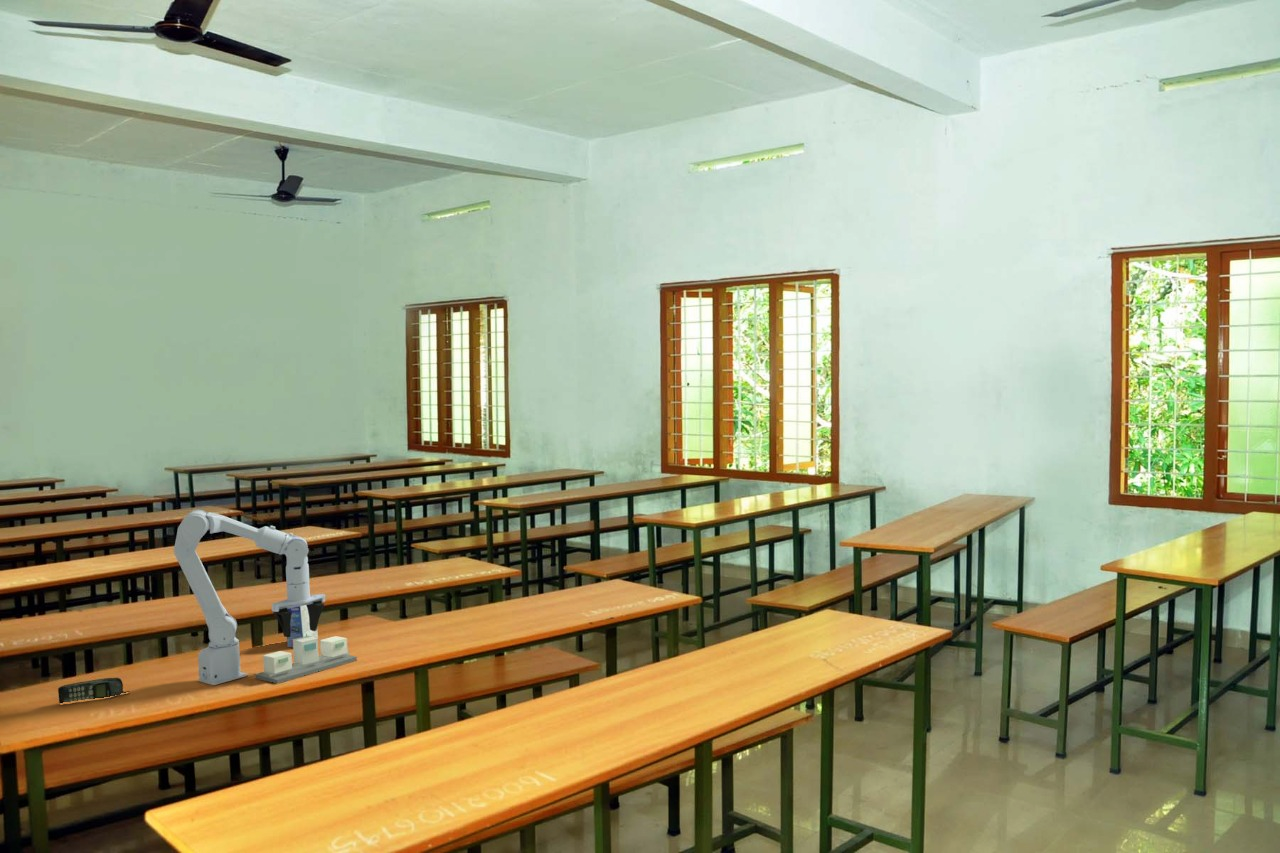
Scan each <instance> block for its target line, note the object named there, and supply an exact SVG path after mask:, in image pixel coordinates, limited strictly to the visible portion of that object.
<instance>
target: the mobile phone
mask: <svg viewBox="0 0 1280 853" xmlns="http://www.w3.org/2000/svg"><path fill="white" fill-rule="evenodd" d="M57 692H58V703H63V702H71V701H78V700H85V699H95V698H104V697H110V696H115V695H119V696H121V695H120V694H121V693H126V692H130V690H127V691H124V683H123V680H122V679H121V678H120V677H106V678H97V679H91V680H85V681H80V682H79V681H78V682H72V683H69V684H64V685H61V686H59V687H58V688H57Z"/></svg>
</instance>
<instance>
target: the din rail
mask: <svg viewBox="0 0 1280 853" xmlns="http://www.w3.org/2000/svg"><path fill="white" fill-rule="evenodd" d="M348 655H350V651H349V650H348V653H345V654H342V655H338V656H335V657H328V656H324V655H321V654H320V655H319V661H317V662H313V663H309V664H304V665H302V664H299V663H296V662H294V663H293V662H292V669H289V670H286V671H282V672H279V673H271V672H267V671H264V670H263V671H262V676H264V677H268V678H272V677H275V676H279V675H282V674H286V673H289V672H293V671H296V670H300V669H303V668H307V667H310V666H313V665H317V664H320V663H324V662H327V661H331V660H334V659H338V658H341V657H345V656H348Z"/></svg>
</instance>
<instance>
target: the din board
mask: <svg viewBox="0 0 1280 853" xmlns="http://www.w3.org/2000/svg"><path fill="white" fill-rule="evenodd" d="M356 661H358V657H357V656H355V655H350V654H349V655H348V656H345V657H341V658H338V659H334V660H331V661H327V662H324V663H320V664H317V665H313V666H310V667H307V668H303V669H300V670H296V671H293V672H289V673H286V674H282V675H279V676H275V677H272V678H268V677H264V676H262V672H263V671H262V672H258V673H255V674H254V679H257V680H261V681H266V682H269V683H272V682H273V684H276V683H279V684H281V683H280V682H282V683H285V682H289V681H291V679H292V680H296V679H299V678H302V677H305V676H304V675H306V676H308V674H309V675H312V673H313V674H316V673H319V672H322V670H323V671H326V670H329V669H333V668H336V667H339V666H343V665H346V664H349V663H353V662H356ZM318 671H319V672H318ZM315 672H316V673H315ZM298 677H299V678H298ZM295 678H296V679H295ZM288 680H289V681H288ZM284 681H285V682H284Z"/></svg>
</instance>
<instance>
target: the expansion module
mask: <svg viewBox="0 0 1280 853" xmlns="http://www.w3.org/2000/svg"><path fill="white" fill-rule="evenodd" d="M292 650H293V662H294V663H299V664H302V665H304V664H309V663H313V662H317V661H319V656H320V655H319V637H318V638H314V637H311V636H305V637H301V638H296V639H293V647H292Z"/></svg>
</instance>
